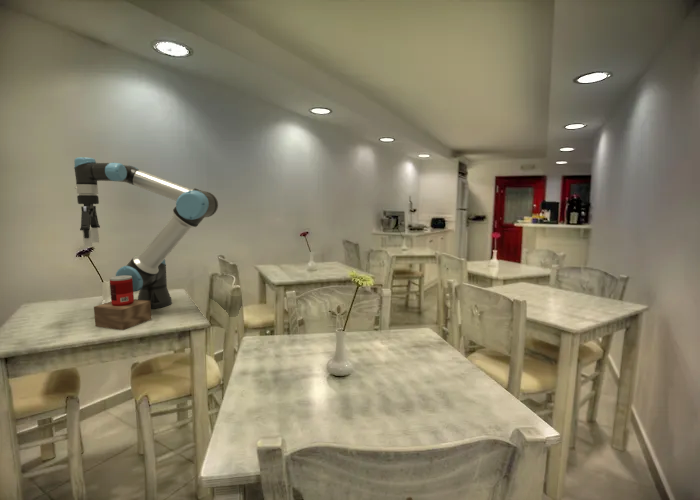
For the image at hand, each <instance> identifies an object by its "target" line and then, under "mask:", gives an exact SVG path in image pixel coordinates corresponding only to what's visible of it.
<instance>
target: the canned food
mask: <svg viewBox="0 0 700 500" xmlns="http://www.w3.org/2000/svg"><path fill="white" fill-rule="evenodd" d="M109 288H110V302H111V303H112V305H113V306H125V305H129V304H132V303H133V301H134V299H135V297H134V292H133V280H132V276H129V275H123V276H116V275H115V276H111V277H110V278H109Z"/></svg>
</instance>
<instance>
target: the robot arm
mask: <svg viewBox="0 0 700 500" xmlns="http://www.w3.org/2000/svg"><path fill="white" fill-rule="evenodd" d="M73 165H74V167H73V169H74V175H75V183H76V184H75V185H76V186H75V187H74V189H76V194H77V195H76V198H77V204H78V205H83V206H80V209H81V221H80V228H79V231H81V232H82V238H83V246H84V247H93V243H100V237H99V228H101V225H100V224H99V219H98V218H99V217H98V214H97V209H96V208H97V206H96V205H98V204H100V200H99V195H98V194H99V187H98V182H102V181H103V182H104V181H105V182H121V183H127V184H129V185H133V186H136V187H137V188H138V187H139V188H140V189H144V190H146V191H148V192H151V193H154V194H156V195H159V196H162V197H165V198H167V199H169V200H170V199H171V200H173V201H176V202H175V207H174V208H173V209H172V214H173V215H172V217H171V218H170V219H169V220H168V221H167V222H166V223H165V225H164V226H163V227H162V228H161V229H160V231H159V232H158V233H157V234H156V235H155V237H154V238H153V239H152V240H151V242H150V243H149V244H148V245H147V246H146V248H145V249H144V250H143V251H142V252H141V253H140V254H138V255H134V256H133V257H132V258H131V260H129V262H128V263H127V264H126V265H124V266H121V267H120V268H119V269H117V271H116V272H115V276H123V275H129V276H132V280H133V293H134V292H138V295H137V300H147V301H150V304H151V310H153V309H159V308H160V309H161V308H165V307H168V306H170V305H172V304H173V301H172V300H173V299H172V296H171V295H170V291H169V289H168V285H167V284H168V283H167V281H168V280H167V264H166V258H167V257H168V256H169V255H170V253H171V252H172V251H173V249H175V247H176V246H177V245H178V244H179V243H180V241H181V240H182V239H183V238H184V237H185V235H187V233H188V232H189V231H190V229H191V228H197V227H198V226H199V225H200V224H201V222H202V221H203V220H204V219H206V218H209V217H212V216H213V215H215V213H216V212H217V211H218V208H219V202H218V199H217V197H216V196H215V195H214V194H213V193H212V192H209V191H205V190H202V189H198V188H196V187H195V188H189V187H186V186H184V185H181V184H178V183H176V182H174V181H171V180H168V179H165V178H162V177H160V176H157V175H155V174H151V173H149V172H146V171H145V170H141V169H139V168H137V167H135V166H132V165H126V164H123V163H120V162H97V161H96V158H93V157H76V158H74V164H73Z"/></svg>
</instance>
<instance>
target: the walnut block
mask: <svg viewBox="0 0 700 500" xmlns="http://www.w3.org/2000/svg"><path fill="white" fill-rule="evenodd" d="M93 313H94V322H95V327H100V328H106V329H113V330H119V331H124V330H126V329H129V328H132V327H135V326H138V325H140V324H142V323H145V322H148V321H150V320H152V309H151V304H150V301H147V300H138V298H137V299H136V298H134V301H133V303H132V304H129V305H125V306H113V305H112V303H111V301H110V302H105V303H103V304H99V305H96V306H93Z"/></svg>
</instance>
